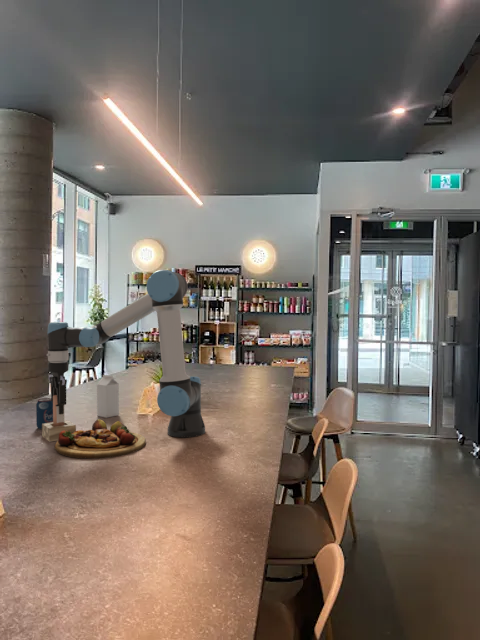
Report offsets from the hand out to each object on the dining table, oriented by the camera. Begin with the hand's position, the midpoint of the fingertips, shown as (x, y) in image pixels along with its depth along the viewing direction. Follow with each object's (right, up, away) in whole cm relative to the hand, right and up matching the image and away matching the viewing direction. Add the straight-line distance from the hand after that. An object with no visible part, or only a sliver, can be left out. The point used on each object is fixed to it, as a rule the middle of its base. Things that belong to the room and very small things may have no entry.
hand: (58, 421), depth 192 cm
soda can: (-11, -6, +15) cm, 20 cm away
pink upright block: (0, -4, 0) cm, 4 cm away
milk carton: (+9, -6, +38) cm, 40 cm away
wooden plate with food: (+20, -7, -12) cm, 25 cm away
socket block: (0, -6, 0) cm, 6 cm away
